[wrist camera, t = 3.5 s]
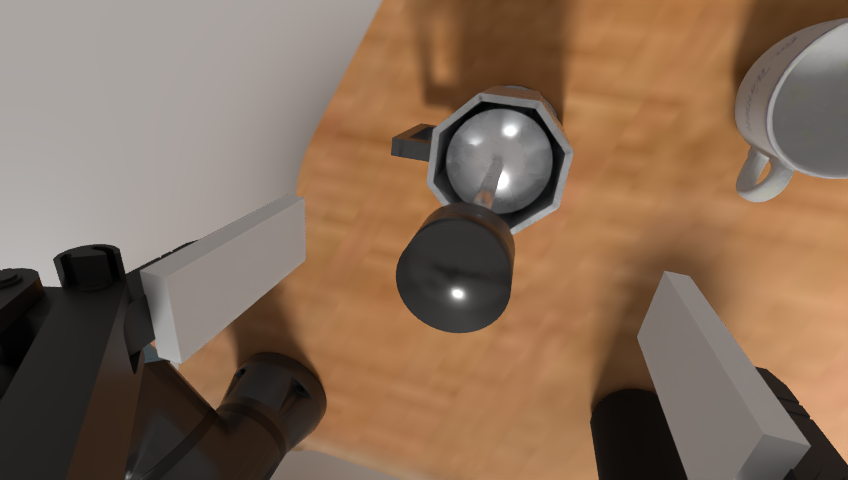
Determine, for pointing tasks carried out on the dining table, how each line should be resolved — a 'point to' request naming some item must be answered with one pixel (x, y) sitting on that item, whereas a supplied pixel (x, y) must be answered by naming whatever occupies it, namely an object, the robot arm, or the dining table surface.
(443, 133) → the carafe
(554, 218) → the dining table surface
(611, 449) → the coffee jar
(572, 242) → the dining table surface
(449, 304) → the plunger
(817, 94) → the teacup
